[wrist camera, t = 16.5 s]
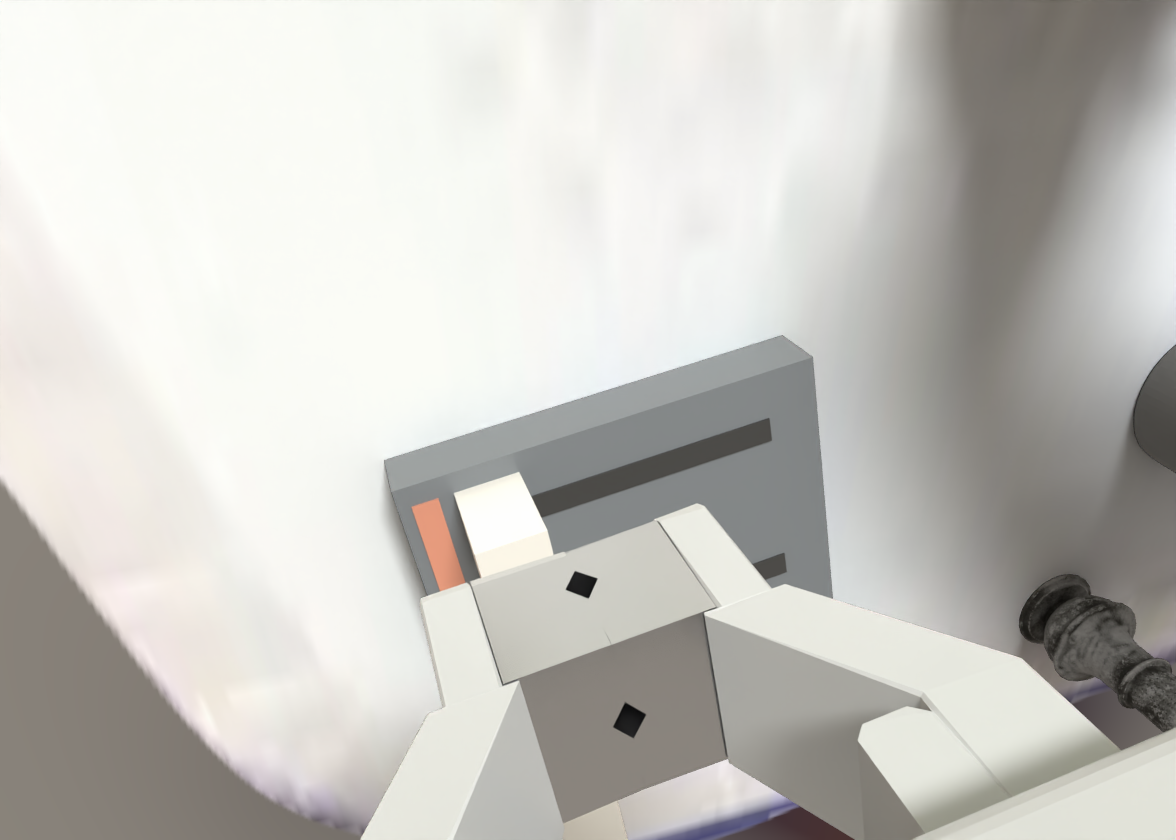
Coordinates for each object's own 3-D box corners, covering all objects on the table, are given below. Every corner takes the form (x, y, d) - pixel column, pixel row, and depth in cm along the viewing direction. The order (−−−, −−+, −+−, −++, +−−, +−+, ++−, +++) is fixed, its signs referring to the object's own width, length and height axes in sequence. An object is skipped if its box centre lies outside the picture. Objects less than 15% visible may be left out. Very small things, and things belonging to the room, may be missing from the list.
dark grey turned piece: (1023, 581, 59) (1182, 712, 48) (1100, 562, 60) (1271, 685, 50) (1008, 654, 61) (1157, 794, 51) (1083, 634, 63) (1243, 766, 52)
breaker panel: (782, 335, 46) (872, 400, 39) (815, 665, 56) (890, 762, 50) (384, 460, 43) (405, 555, 36) (497, 786, 53) (530, 908, 46)
